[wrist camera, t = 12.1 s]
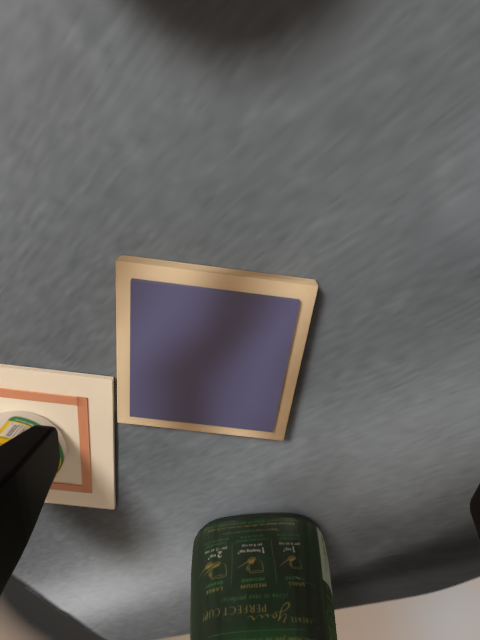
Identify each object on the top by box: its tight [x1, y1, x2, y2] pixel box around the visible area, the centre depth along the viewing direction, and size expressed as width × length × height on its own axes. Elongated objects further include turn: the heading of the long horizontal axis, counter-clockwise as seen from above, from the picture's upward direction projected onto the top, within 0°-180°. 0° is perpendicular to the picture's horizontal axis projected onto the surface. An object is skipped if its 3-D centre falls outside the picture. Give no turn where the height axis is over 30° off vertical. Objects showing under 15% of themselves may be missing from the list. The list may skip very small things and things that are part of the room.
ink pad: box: [116, 255, 318, 441], centre depth 21 cm, size 10×10×1 cm
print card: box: [0, 364, 116, 510], centre depth 25 cm, size 11×11×1 cm
